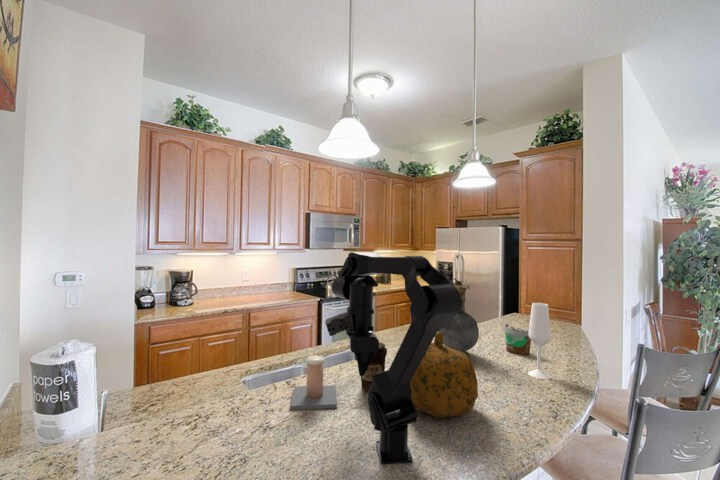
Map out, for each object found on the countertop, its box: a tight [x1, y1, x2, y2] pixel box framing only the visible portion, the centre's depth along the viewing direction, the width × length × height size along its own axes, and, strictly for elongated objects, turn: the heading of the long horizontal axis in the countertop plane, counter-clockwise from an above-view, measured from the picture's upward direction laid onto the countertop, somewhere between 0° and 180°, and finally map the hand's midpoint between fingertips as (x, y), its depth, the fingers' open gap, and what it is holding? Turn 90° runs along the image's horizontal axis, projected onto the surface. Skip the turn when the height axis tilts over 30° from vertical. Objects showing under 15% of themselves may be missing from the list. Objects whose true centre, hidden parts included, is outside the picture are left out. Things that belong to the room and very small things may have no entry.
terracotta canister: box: [306, 355, 325, 399], centre depth 87 cm, size 5×5×10 cm
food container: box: [503, 323, 532, 356], centre depth 129 cm, size 12×6×10 cm, turn 25°
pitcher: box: [437, 277, 480, 356], centre depth 127 cm, size 11×19×30 cm, turn 26°
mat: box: [289, 384, 338, 411], centre depth 87 cm, size 11×12×1 cm
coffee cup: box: [360, 342, 388, 393], centre depth 94 cm, size 9×8×13 cm
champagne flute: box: [527, 302, 552, 380], centre depth 107 cm, size 7×7×24 cm
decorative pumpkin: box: [410, 332, 479, 420], centre depth 84 cm, size 20×21×20 cm
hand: (359, 367), depth 77 cm, fingers open, 9 cm apart
